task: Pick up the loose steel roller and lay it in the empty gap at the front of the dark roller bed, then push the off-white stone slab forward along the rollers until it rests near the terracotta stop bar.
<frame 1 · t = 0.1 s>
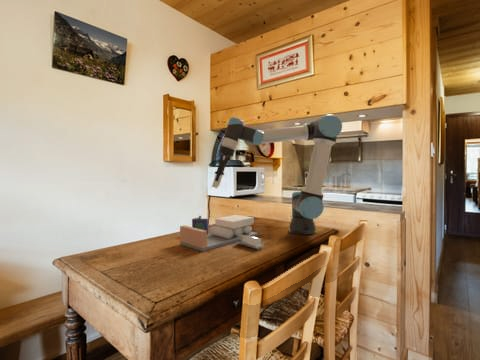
hand: (215, 186, 140), 28 cm above the table, tool tilted 20°, fingers open, 13 cm apart
roller bed: (222, 239, 141), on the table
loose roller: (249, 246, 128), on the table
flask: (200, 234, 153), on the table
stone slab: (234, 224, 147), point 6 cm above the table, touching roller bed
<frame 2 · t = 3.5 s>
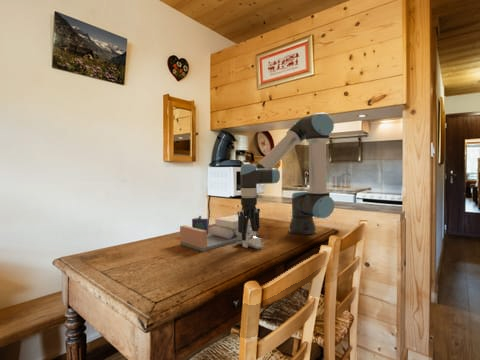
hand: (249, 245, 128), 0 cm above the table, tool pointing down, fingers closed on loose roller, 5 cm apart
loose roller: (249, 246, 128), on the table, touching gripper
everything else where it was.
when the fingers open (3 cm above the table, at t = 8.8 s): loose roller drops 1 cm, resting on roller bed.
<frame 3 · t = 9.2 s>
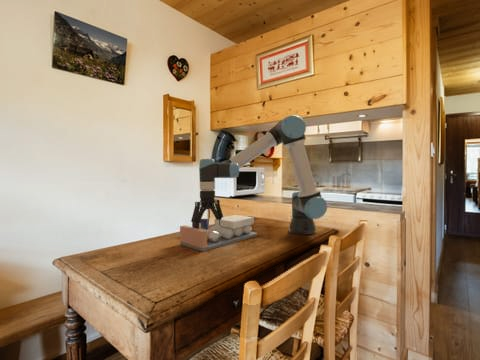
hand: (208, 234, 134), 5 cm above the table, tool pointing down, fingers open, 11 cm apart
loose roller: (208, 240, 134), point 1 cm above the table, touching roller bed
everything else where it was.
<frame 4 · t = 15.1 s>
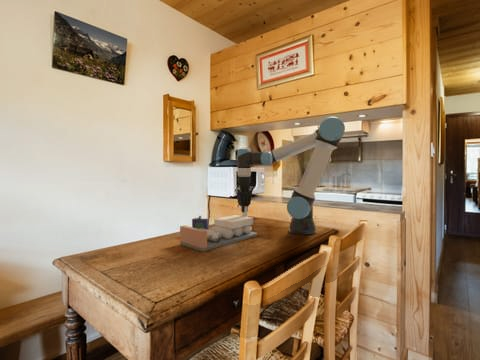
hand: (244, 217, 153), 9 cm above the table, tool pointing down, fingers closed
nothing on the table moved.
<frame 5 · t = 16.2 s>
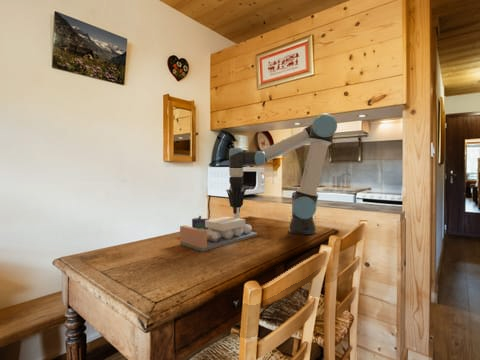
hand: (236, 219, 149), 9 cm above the table, tool pointing down, fingers closed
stone slab: (225, 226, 142), point 6 cm above the table, touching roller bed
everything else where it was.
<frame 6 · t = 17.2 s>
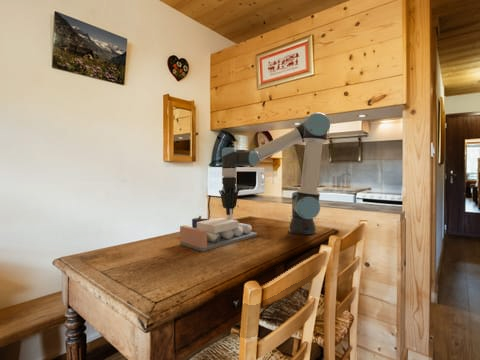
hand: (229, 220, 145), 9 cm above the table, tool pointing down, fingers closed
loose roller: (208, 239, 134), point 2 cm above the table, tilted 22°, touching roller bed, stone slab
stone slab: (217, 228, 138), point 6 cm above the table, touching loose roller, roller bed
everything else where it was.
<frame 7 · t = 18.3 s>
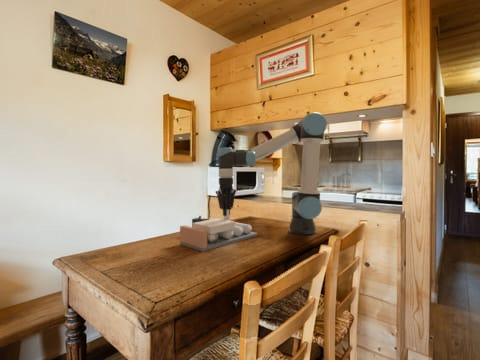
hand: (226, 221, 143), 9 cm above the table, tool pointing down, fingers closed
loose roller: (208, 238, 134), point 2 cm above the table, tilted 45°, touching roller bed, stone slab
stone slab: (214, 229, 137), point 6 cm above the table, touching loose roller, roller bed
everything else where it was.
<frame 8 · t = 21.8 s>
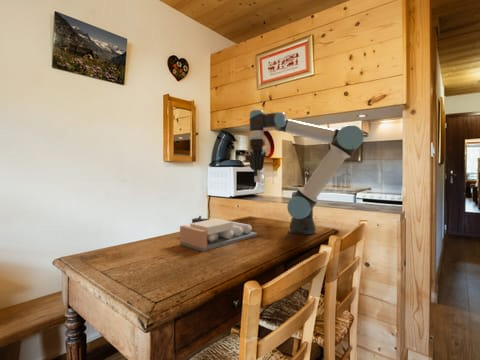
hand: (257, 181, 149), 29 cm above the table, tool pointing down, fingers closed
stone slab: (211, 229, 136), point 6 cm above the table, touching loose roller, roller bed
everything else where it was.
at the end: stone slab inside the target area (1.1 cm from its centre), point 6.4 cm above the table; stone slab tilted 1°; loose roller touching roller bed, stone slab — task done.
